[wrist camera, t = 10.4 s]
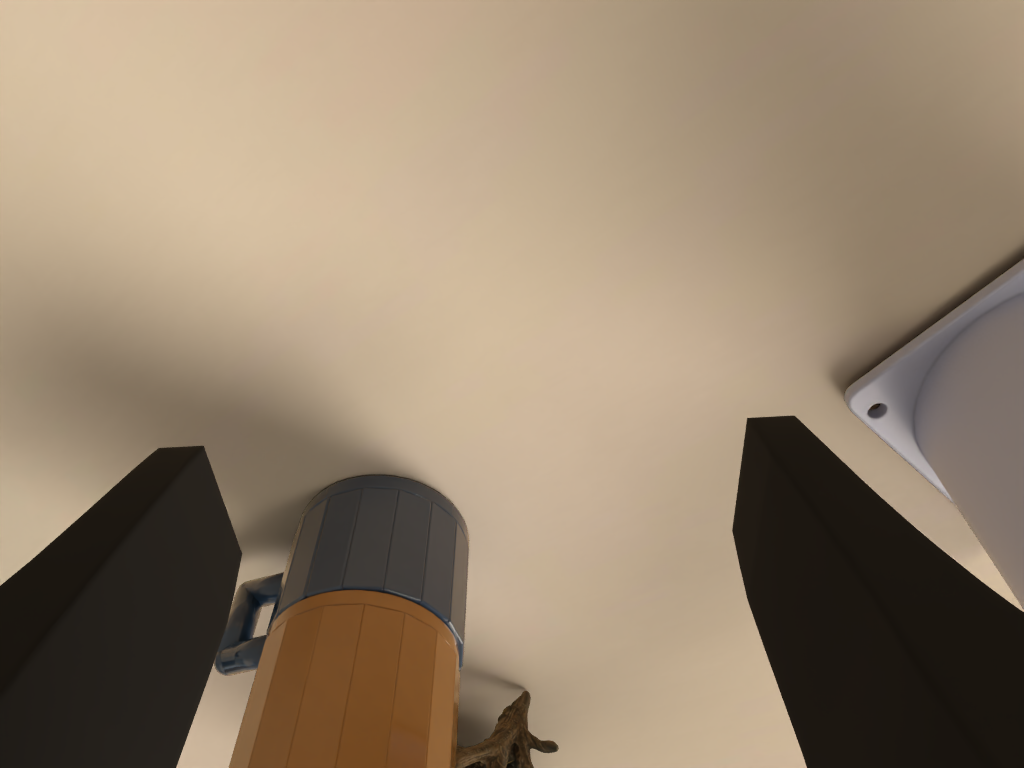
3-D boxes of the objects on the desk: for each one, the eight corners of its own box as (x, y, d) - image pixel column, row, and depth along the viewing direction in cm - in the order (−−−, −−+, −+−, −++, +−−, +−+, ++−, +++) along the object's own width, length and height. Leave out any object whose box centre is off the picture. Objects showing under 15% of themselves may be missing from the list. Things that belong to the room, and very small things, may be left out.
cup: (432, 455, 24) (419, 567, 21) (492, 573, 27) (490, 690, 24) (204, 515, 26) (155, 631, 22) (285, 622, 29) (253, 739, 25)
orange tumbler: (498, 647, 22) (497, 861, 18) (383, 731, 25) (356, 940, 20) (339, 559, 20) (290, 775, 16) (229, 659, 23) (159, 873, 18)
